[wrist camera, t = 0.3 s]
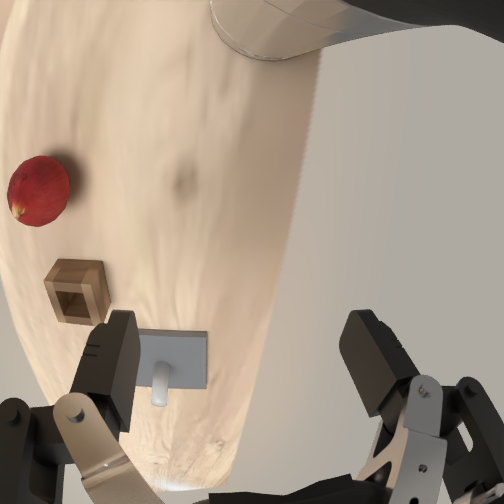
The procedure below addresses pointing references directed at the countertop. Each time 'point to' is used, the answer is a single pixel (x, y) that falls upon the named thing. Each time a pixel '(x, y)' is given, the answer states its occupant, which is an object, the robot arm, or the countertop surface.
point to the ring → (78, 291)
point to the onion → (38, 191)
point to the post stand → (171, 362)
